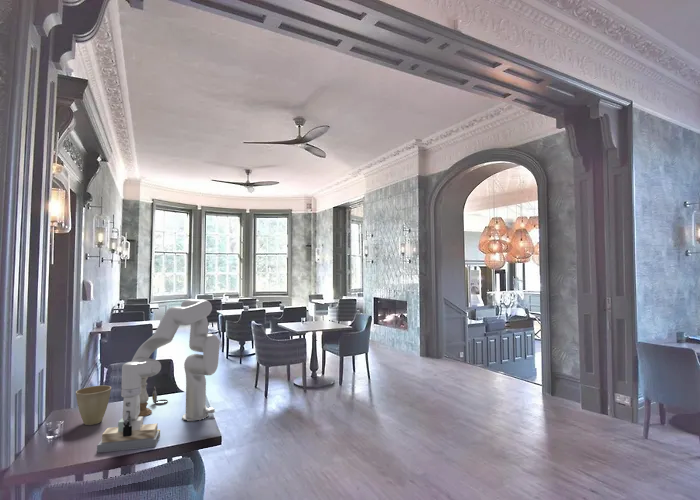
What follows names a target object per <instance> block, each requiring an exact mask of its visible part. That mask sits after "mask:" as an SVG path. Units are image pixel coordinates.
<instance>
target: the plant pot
mask: <svg viewBox="0 0 700 500" xmlns="http://www.w3.org/2000/svg"><path fill="white" fill-rule="evenodd" d="M111 392H112V386H110V385H93V386H86V387H83V388H80V389H78V390H76V391H75V397H76V403H77V408H78V411H79V415H80V417H81V420H82V422H83V424H84V425H85V426H92V425H96V424H99V423H101V422H102V421H103V419H104V416H105V415H106V411H107V407H108V405H109V400H110V398H111V397H110V396H111Z"/></svg>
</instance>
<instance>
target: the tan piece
mask: <svg viewBox="0 0 700 500" xmlns="http://www.w3.org/2000/svg"><path fill="white" fill-rule="evenodd" d="M158 424H159V423H148V424H147V423H146V424H143V426H142V428H141V429H140V430H133V431H132V435H131V436H126V437H123V431H122V432H118V426H114V427H107V428H106V429H105V430H104V432H102V434H101V436H102V437H101V440H102V443H105V442H115V441H125V440H135V439H146V438H154V437H155V435H156V433H157V430H158Z"/></svg>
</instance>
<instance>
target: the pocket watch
mask: <svg viewBox="0 0 700 500" xmlns="http://www.w3.org/2000/svg"><path fill="white" fill-rule="evenodd" d="M153 388H154V389H153V391H152V395H151V396H152V403H153V404H155V405H158V404H159V405H164V403H165V404H167V403H168V402H169V401H168V399H158V394H157V393H158V392H157V391H156V390H157V389H156V387H153ZM158 401H167V403H166V402H164V403H156V402H158Z"/></svg>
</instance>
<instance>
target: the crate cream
mask: <svg viewBox="0 0 700 500" xmlns="http://www.w3.org/2000/svg"><path fill="white" fill-rule="evenodd" d="M143 425H144V416H141V417H137V418H136V419H135V420H132V423H131V426H132V431H133V430H140V429H141V428H142V426H143Z"/></svg>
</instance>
